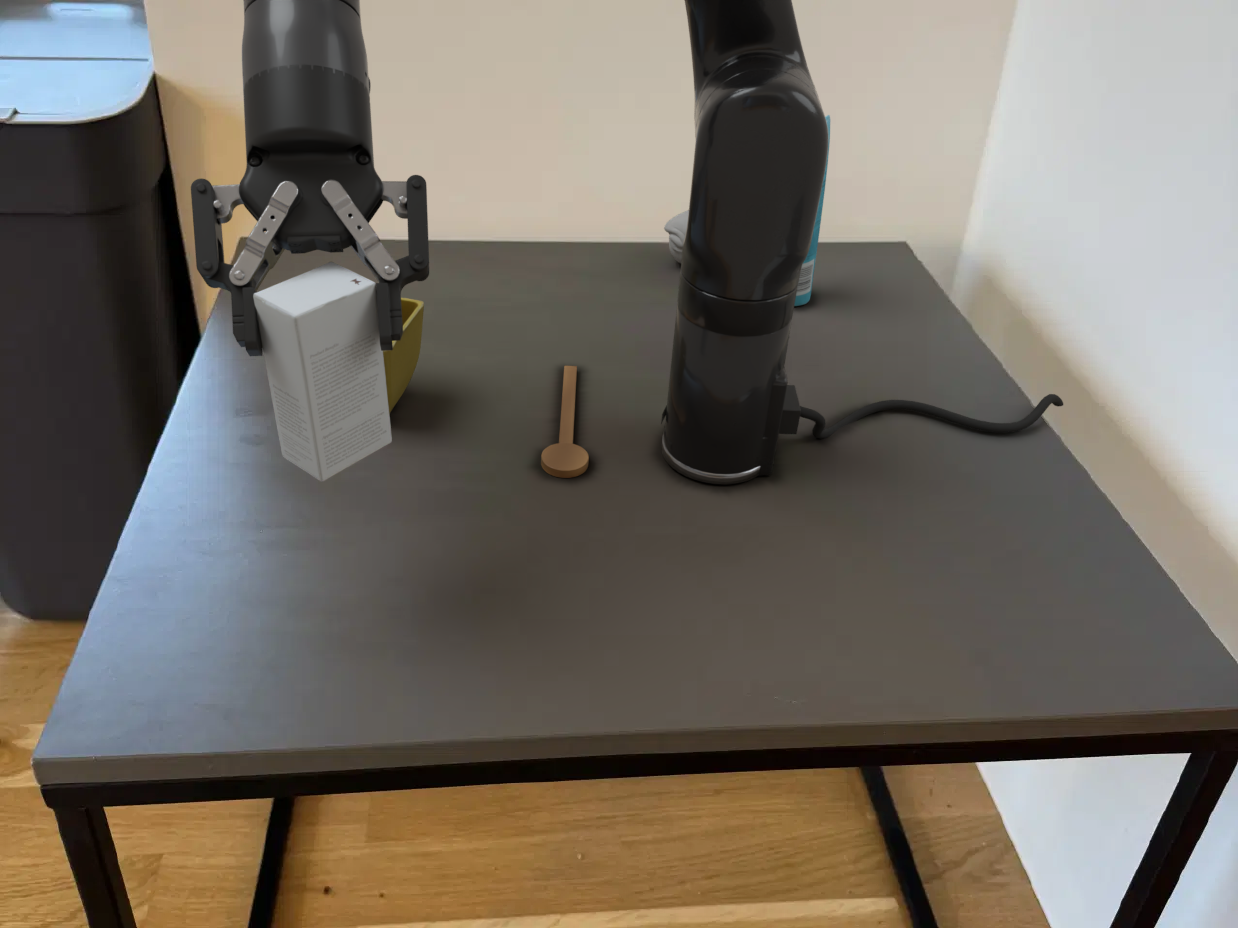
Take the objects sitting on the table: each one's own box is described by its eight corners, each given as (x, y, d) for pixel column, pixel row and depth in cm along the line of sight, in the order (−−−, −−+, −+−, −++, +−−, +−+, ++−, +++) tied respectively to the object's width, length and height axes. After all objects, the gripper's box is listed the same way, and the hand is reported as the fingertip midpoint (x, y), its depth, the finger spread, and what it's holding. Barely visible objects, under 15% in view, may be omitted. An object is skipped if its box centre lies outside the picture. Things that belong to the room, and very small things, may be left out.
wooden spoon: (591, 372, 106) (591, 364, 105) (587, 479, 92) (588, 471, 92) (549, 369, 106) (549, 362, 105) (539, 477, 92) (540, 469, 91)
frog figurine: (724, 277, 124) (731, 219, 119) (661, 274, 123) (667, 216, 119) (719, 253, 128) (726, 196, 124) (659, 250, 128) (664, 193, 124)
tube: (778, 278, 124) (805, 109, 113) (819, 290, 122) (851, 119, 111) (754, 305, 119) (779, 129, 107) (796, 317, 117) (827, 140, 106)
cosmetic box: (351, 418, 75) (333, 258, 68) (393, 444, 73) (379, 281, 66) (277, 457, 71) (249, 292, 64) (320, 485, 69) (296, 317, 62)
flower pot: (395, 440, 95) (389, 349, 90) (299, 423, 96) (287, 333, 91) (430, 387, 102) (425, 300, 97) (340, 372, 103) (331, 286, 98)
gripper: (170, 60, 63) (180, 340, 61) (424, 59, 66) (443, 328, 63) (197, 119, 71) (208, 371, 68) (425, 116, 73) (442, 359, 71)
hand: (321, 350), depth 66 cm, fingers closed on cosmetic box, 7 cm apart
